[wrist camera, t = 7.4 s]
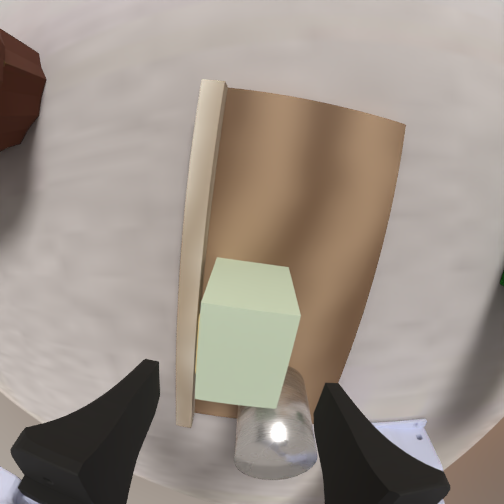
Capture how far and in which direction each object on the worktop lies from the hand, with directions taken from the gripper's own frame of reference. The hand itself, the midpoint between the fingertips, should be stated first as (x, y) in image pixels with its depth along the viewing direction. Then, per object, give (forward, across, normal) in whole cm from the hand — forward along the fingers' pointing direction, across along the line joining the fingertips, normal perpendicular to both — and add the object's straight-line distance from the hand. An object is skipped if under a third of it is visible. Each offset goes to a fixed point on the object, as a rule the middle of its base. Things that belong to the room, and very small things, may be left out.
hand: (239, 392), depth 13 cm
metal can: (+8, -3, +7) cm, 11 cm away
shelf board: (+9, -2, -1) cm, 10 cm away
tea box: (+8, 0, 0) cm, 8 cm away
